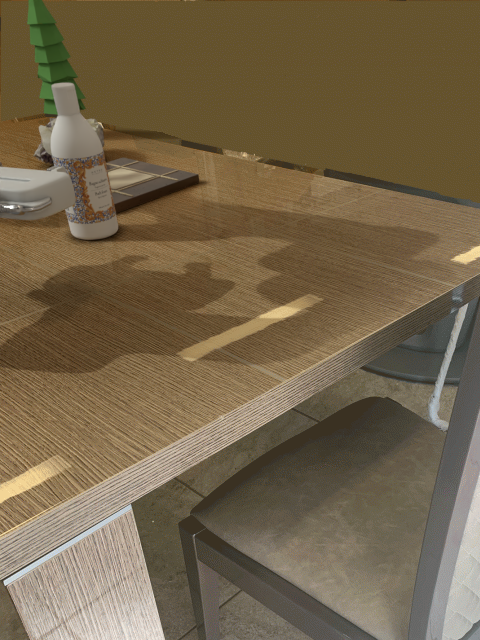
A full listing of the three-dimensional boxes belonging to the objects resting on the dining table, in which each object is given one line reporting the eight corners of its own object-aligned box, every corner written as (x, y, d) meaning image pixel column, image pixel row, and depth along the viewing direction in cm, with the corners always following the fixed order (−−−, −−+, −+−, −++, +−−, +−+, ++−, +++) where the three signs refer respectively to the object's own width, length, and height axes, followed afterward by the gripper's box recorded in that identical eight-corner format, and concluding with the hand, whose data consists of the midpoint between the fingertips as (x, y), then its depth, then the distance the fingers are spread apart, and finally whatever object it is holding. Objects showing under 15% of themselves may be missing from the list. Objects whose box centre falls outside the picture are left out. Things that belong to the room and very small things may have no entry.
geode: (66, 201, 124) (130, 171, 130) (55, 160, 116) (124, 130, 122) (17, 154, 129) (81, 127, 135) (3, 111, 120) (72, 84, 127)
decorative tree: (39, 137, 143) (-3, -27, 125) (67, 128, 150) (31, -29, 132) (74, 141, 140) (37, -27, 122) (101, 131, 147) (70, -29, 129)
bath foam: (91, 244, 93) (56, 91, 81) (61, 234, 96) (23, 85, 84) (128, 230, 97) (100, 83, 85) (99, 221, 100) (67, 78, 88)
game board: (36, 192, 112) (34, 183, 111) (124, 165, 125) (122, 156, 124) (113, 214, 103) (111, 204, 102) (199, 182, 116) (198, 173, 115)
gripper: (23, 183, 67) (96, 149, 77) (-134, 168, 71) (-45, 138, 82) (39, 241, 70) (106, 202, 81) (-110, 224, 75) (-28, 188, 86)
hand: (29, 170), depth 81 cm, fingers open, 8 cm apart
